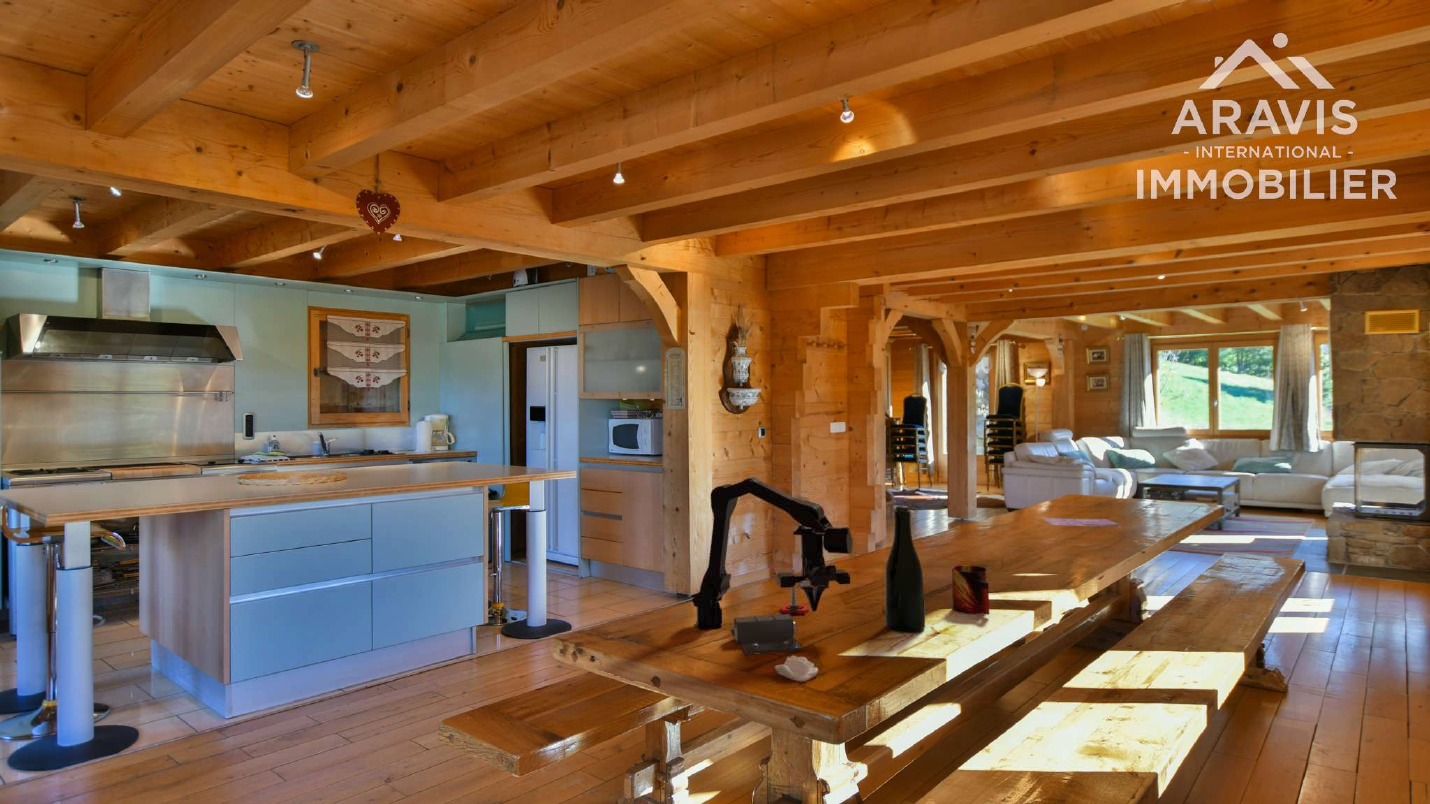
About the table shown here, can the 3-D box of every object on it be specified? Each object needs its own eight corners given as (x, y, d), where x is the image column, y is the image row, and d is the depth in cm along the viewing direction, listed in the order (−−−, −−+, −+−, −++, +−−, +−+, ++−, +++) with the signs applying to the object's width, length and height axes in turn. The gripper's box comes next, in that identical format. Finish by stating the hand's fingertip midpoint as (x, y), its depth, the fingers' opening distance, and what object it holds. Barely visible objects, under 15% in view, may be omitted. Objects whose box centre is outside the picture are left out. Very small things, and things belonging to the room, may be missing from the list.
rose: (770, 661, 178) (777, 648, 187) (770, 681, 178) (778, 666, 187) (815, 663, 176) (820, 650, 185) (815, 683, 176) (820, 669, 185)
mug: (987, 619, 222) (986, 576, 222) (946, 609, 233) (945, 568, 233) (1007, 612, 228) (1006, 571, 228) (966, 603, 239) (964, 564, 239)
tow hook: (781, 608, 241) (779, 614, 232) (780, 565, 242) (778, 570, 232) (809, 608, 240) (808, 615, 230) (808, 565, 240) (807, 570, 231)
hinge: (743, 655, 196) (742, 631, 196) (729, 629, 218) (728, 608, 218) (801, 651, 198) (801, 627, 198) (782, 625, 220) (781, 605, 220)
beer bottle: (926, 623, 219) (923, 504, 219) (924, 634, 209) (921, 509, 209) (887, 621, 222) (884, 503, 222) (883, 632, 212) (880, 508, 212)
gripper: (784, 559, 200) (786, 621, 200) (856, 555, 203) (857, 616, 203) (775, 551, 211) (776, 610, 211) (843, 548, 214) (844, 606, 214)
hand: (814, 611), depth 210 cm, fingers closed
